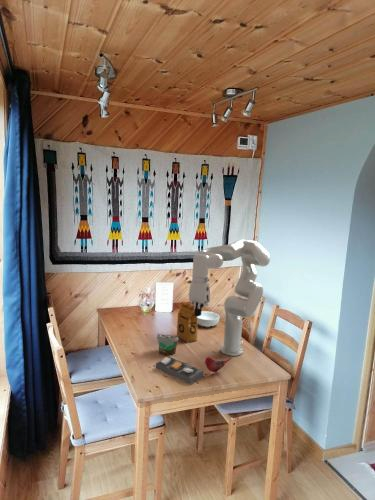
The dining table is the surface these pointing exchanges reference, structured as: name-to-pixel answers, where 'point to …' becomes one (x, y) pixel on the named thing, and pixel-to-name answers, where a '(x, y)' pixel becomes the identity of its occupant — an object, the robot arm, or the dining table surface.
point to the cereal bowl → (208, 318)
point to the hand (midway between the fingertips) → (197, 315)
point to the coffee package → (187, 323)
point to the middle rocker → (176, 365)
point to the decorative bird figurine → (214, 364)
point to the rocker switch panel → (180, 371)
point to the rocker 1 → (165, 361)
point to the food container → (167, 344)
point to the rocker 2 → (188, 370)
